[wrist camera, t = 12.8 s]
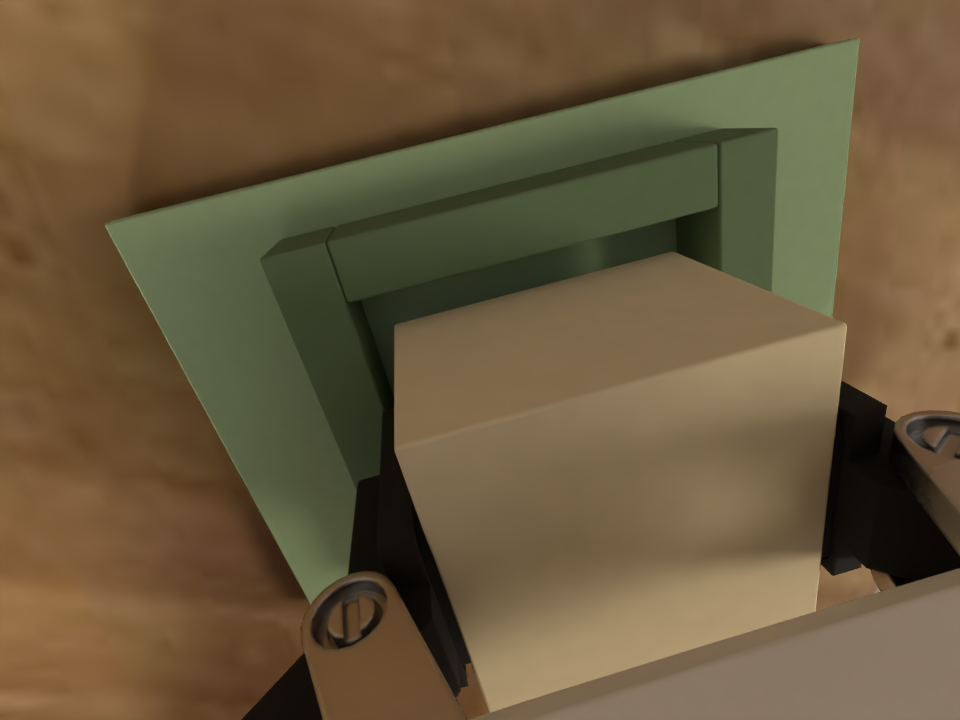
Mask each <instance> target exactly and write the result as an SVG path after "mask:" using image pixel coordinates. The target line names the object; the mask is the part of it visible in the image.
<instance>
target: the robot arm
mask: <svg viewBox="0 0 960 720" xmlns="http://www.w3.org/2000/svg"><path fill="white" fill-rule="evenodd" d="M886 408H887V405H885V404H883V403H881V402H879V401H878V400H876V399H874V398H872V397H870V396H869V395H867V394H865V393H863V392H861V391H859V390H858V389H856V388H854V387H852V386H850V385H849V384H847V383H845V382H843V381H841V386H840V395H839V404H838V413H837V422H836V431H835V438H834V446H833V455H832V464H831V473H830V482H829V491H828V500H827V509H826V518H825V527H824V536H823V545H822V557H821V565H822V566H823V567H824V568H825V569H826V570H827V571H828V572H829V573H830V574H831V575H832V576H834V575H837V574H841V573H844V572H847V571H851V570H854V569H857V568H861V563H862V564H863V565H864V566H865V567H866V568H868V569H870V570H871V573H872V576H873V579H874V580H875V582H876V584H877V586H878V588H879V590H880V591H881V592H878V593H875V594H872V595H868V596H865V597H862V598H858V599H855V600H852V601H849V602H845V603H842V604H839V605H835V606H832V607H829V608H825V609H822V610H819V611H816V612H812V613H809V614H806V615H802V616H799V617H796V618H793V619H789V620H786V621H783V622H779V623H776V624H773V625H770V626H766V627H763V628H760V629H757V630H753V631H750V632H747V633H743V634H740V635H737V636H734V637H730V638H727V639H724V640H721V641H717V642H714V643H711V644H707V645H704V646H701V647H698V648H694V649H691V650H688V651H685V652H681V653H678V654H675V655H672V656H669V657H665V658H662V659H659V660H656V661H653V662H649V663H646V664H643V665H640V666H636V667H633V668H630V669H627V670H624V671H620V672H617V673H614V674H611V675H607V676H604V677H601V678H598V679H595V680H591V681H588V682H585V683H582V684H579V685H575V686H572V687H569V688H566V689H562V690H559V691H556V692H553V693H550V694H546V695H543V696H540V697H537V698H534V699H530V700H527V701H524V702H521V703H518V704H515V705H512V706H509V707H506V708H503V709H500V710H497V711H494V712H491V713H488V714H485V715H482V716H479V717H476V718H473V719H470V720H960V413H957V412H950V411H920V412H913V413H910V414H908V415H905V416H902V417H901V418H900V419H899V420H898V421H897V422H896V423H895V422H894V421H892V420H890V419H888V418H887V417H885V414H886ZM301 642H302V646H303V649H304V654H303V655H302V656H301V657H300V658H299V659H298V660H297V661H296V662H295V663H294V664H293V665H292V666H291V667H290V668H289V670H288V671H287V672H286V673H285V674H284V675H283V676H282V677H281V678H280V679H279V680H278V681H277V682H276V683H275V684H274V686H273V687H272V688H271V689H270V690H269V691H268V692H267V693H266V694H265V695H264V696H263V697H262V698H261V699H260V700H259V702H258V703H257V704H256V705H255V706H254V707H253V708H252V709H251V710H250V711H249V712H248V713H247V714H246V715H245V716H244V718H243V719H242V720H468V719H467V718H466V716H465V714H464V712H463V710H462V709H461V707H460V705H459V703H458V701H457V699H456V697H457V695H458V694H459V692H460V691H461V689H460V688H462V687H466V686H468V681H467V674H466V666H465V665H466V664H469V663H471V660H470V656H469V654H468V651H467V648H466V645H465V642H464V640H463V637H462V634H461V631H460V629H459V626H458V623H457V620H456V617H455V615H454V612H453V609H452V606H451V604H450V601H449V598H448V595H447V592H446V590H445V587H444V584H443V581H442V579H441V576H440V573H439V570H438V567H437V565H436V562H435V559H434V556H433V553H432V551H431V549H430V547H429V545H428V542H427V540H426V537H425V534H424V531H423V528H422V526H421V523H420V520H419V517H418V515H417V512H416V509H415V506H414V504H413V501H412V498H411V495H410V492H409V490H408V487H407V484H406V481H405V479H404V476H403V473H402V470H401V467H400V465H399V462H398V459H397V456H396V454H395V451H394V408H393V409H389V410H386V411H383V413H382V433H381V457H380V475H377V476H373V477H369V478H366V479H362V480H360V481H359V482H358V485H357V493H356V502H355V512H354V521H353V531H352V540H351V550H350V559H349V569H348V575H347V576H345V577H342V578H340V579H338V580H336V581H335V582H333V583H332V584H331V585H329V586H328V587H326V588H325V589H324V590H323V591H322V592H321V593H320V594H319V595H318V596H317V597H316V598H315V599H314V600H313V601H312V603H311V605H310V606H309V608H308V610H307V611H306V613H305V615H304V618H303V622H302V625H301Z"/></svg>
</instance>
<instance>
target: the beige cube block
mask: <svg viewBox="0 0 960 720" xmlns="http://www.w3.org/2000/svg"><path fill="white" fill-rule="evenodd" d="M846 333H847V325H846V324H845V323H844V322H841V321H839V320H837V319H834V318H832V317H829V316H827V315H825V314H822V313H820V312H817V311H815V310H813V309H810V308H808V307H805V306H803V305H800V304H798V303H796V302H793V301H791V300H788V299H786V298H784V297H781V296H779V295H776V294H774V293H772V292H769V291H767V290H764V289H762V288H760V287H757V286H755V285H752V284H750V283H748V282H745V281H743V280H740V279H738V278H736V277H733V276H731V275H728V274H726V273H724V272H721V271H719V270H716V269H714V268H712V267H709V266H707V265H704V264H702V263H700V262H697V261H695V260H692V259H690V258H687V257H685V256H683V255H680V254H678V253H675V252H668V253H664V254H660V255H656V256H653V257H649V258H645V259H641V260H638V261H634V262H630V263H626V264H622V265H619V266H615V267H611V268H607V269H603V270H600V271H596V272H592V273H588V274H584V275H581V276H577V277H573V278H569V279H565V280H562V281H558V282H554V283H550V284H546V285H543V286H539V287H535V288H531V289H527V290H524V291H520V292H516V293H512V294H508V295H505V296H501V297H497V298H493V299H490V300H486V301H482V302H478V303H474V304H471V305H467V306H463V307H459V308H455V309H452V310H448V311H444V312H440V313H436V314H433V315H429V316H425V317H421V318H417V319H414V320H410V321H406V322H402V323H398V324H396V325H395V326H394V451H395V454H396V456H397V459H398V462H399V465H400V467H401V470H402V473H403V476H404V479H405V481H406V484H407V487H408V490H409V492H410V495H411V498H412V501H413V504H414V506H415V509H416V512H417V515H418V517H419V520H420V523H421V526H422V528H423V531H424V534H425V537H426V540H427V542H428V545H429V547H430V549H431V551H432V553H433V556H434V559H435V562H436V565H437V567H438V570H439V573H440V576H441V579H442V581H443V584H444V587H445V590H446V592H447V595H448V598H449V601H450V604H451V606H452V609H453V612H454V615H455V617H456V620H457V623H458V626H459V629H460V631H461V634H462V637H463V640H464V642H465V645H466V648H467V651H468V654H469V656H470V660H471V664H472V667H473V670H474V673H475V675H476V678H477V681H478V684H479V687H480V689H481V692H482V695H483V698H484V700H485V703H486V706H487V709H488V712H489V713H491V712H494V711H497V710H500V709H503V708H506V707H509V706H512V705H515V704H518V703H521V702H524V701H527V700H530V699H534V698H537V697H540V696H543V695H546V694H550V693H553V692H556V691H559V690H562V689H566V688H569V687H572V686H575V685H579V684H582V683H585V682H588V681H591V680H595V679H598V678H601V677H604V676H607V675H611V674H614V673H617V672H620V671H624V670H627V669H630V668H633V667H636V666H640V665H643V664H646V663H649V662H653V661H656V660H659V659H662V658H665V657H669V656H672V655H675V654H678V653H681V652H685V651H688V650H691V649H694V648H698V647H701V646H704V645H707V644H711V643H714V642H717V641H721V640H724V639H727V638H730V637H734V636H737V635H740V634H743V633H747V632H750V631H753V630H757V629H760V628H763V627H766V626H770V625H773V624H776V623H779V622H783V621H786V620H789V619H793V618H796V617H799V616H802V615H806V614H809V613H812V612H815V610H816V601H817V592H818V583H819V574H820V566H821V557H822V545H823V536H824V527H825V518H826V509H827V500H828V491H829V482H830V473H831V464H832V455H833V446H834V438H835V431H836V422H837V413H838V404H839V395H840V386H841V377H842V368H843V359H844V351H845V342H846Z"/></svg>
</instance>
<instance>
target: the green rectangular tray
mask: <svg viewBox="0 0 960 720" xmlns="http://www.w3.org/2000/svg"><path fill="white" fill-rule="evenodd" d="M858 50H859V39H858V38H853V39H848V40H843V41H838V42H834V43H829V44H825V45H821V46H817V47H813V48H809V49H805V50H801V51H797V52H793V53H789V54H785V55H781V56H776V57H772V58H768V59H764V60H760V61H756V62H752V63H748V64H744V65H740V66H736V67H732V68H728V69H724V70H720V71H715V72H711V73H707V74H703V75H699V76H695V77H691V78H687V79H683V80H679V81H675V82H671V83H667V84H663V85H659V86H655V87H650V88H646V89H642V90H638V91H634V92H630V93H626V94H622V95H618V96H614V97H610V98H606V99H602V100H598V101H594V102H590V103H585V104H581V105H577V106H573V107H569V108H565V109H561V110H557V111H553V112H549V113H545V114H541V115H537V116H533V117H529V118H525V119H520V120H516V121H512V122H508V123H504V124H500V125H496V126H492V127H488V128H484V129H480V130H476V131H472V132H468V133H464V134H460V135H455V136H451V137H447V138H443V139H439V140H435V141H431V142H427V143H423V144H419V145H415V146H411V147H407V148H403V149H399V150H394V151H390V152H386V153H382V154H378V155H374V156H370V157H366V158H362V159H358V160H354V161H350V162H346V163H342V164H338V165H334V166H329V167H325V168H321V169H317V170H313V171H309V172H305V173H301V174H297V175H293V176H289V177H285V178H281V179H277V180H273V181H269V182H264V183H260V184H256V185H252V186H248V187H244V188H240V189H236V190H232V191H228V192H224V193H220V194H216V195H212V196H208V197H204V198H199V199H195V200H191V201H187V202H183V203H179V204H175V205H171V206H167V207H163V208H159V209H155V210H151V211H147V212H143V213H139V214H134V215H130V216H126V217H123V218H119V219H116V220H113V221H109V222H107V223H106V224H105V227H106V229H107V231H108V233H109V235H110V236H111V238H112V240H113V242H114V244H115V246H116V247H117V249H118V251H119V253H120V255H121V257H122V259H123V260H124V262H125V264H126V266H127V268H128V270H129V271H130V273H131V275H132V277H133V279H134V281H135V282H136V284H137V286H138V288H139V290H140V292H141V294H142V295H143V297H144V299H145V301H146V303H147V305H148V306H149V308H150V310H151V312H152V314H153V316H154V317H155V319H156V321H157V323H158V325H159V327H160V329H161V330H162V332H163V334H164V336H165V338H166V340H167V341H168V343H169V345H170V347H171V349H172V351H173V353H174V354H175V356H176V358H177V360H178V362H179V364H180V365H181V367H182V369H183V371H184V373H185V375H186V376H187V378H188V380H189V382H190V384H191V386H192V388H193V389H194V391H195V393H196V395H197V397H198V399H199V400H200V402H201V404H202V406H203V408H204V410H205V411H206V413H207V415H208V417H209V419H210V421H211V423H212V424H213V426H214V428H215V430H216V432H217V434H218V435H219V437H220V439H221V441H222V443H223V445H224V447H225V448H226V450H227V452H228V454H229V456H230V458H231V459H232V461H233V463H234V465H235V467H236V469H237V470H238V472H239V474H240V476H241V478H242V480H243V482H244V483H245V485H246V487H247V489H248V491H249V493H250V494H251V496H252V498H253V500H254V502H255V504H256V505H257V507H258V509H259V511H260V513H261V515H262V517H263V518H264V520H265V522H266V524H267V526H268V528H269V529H270V531H271V533H272V535H273V537H274V539H275V541H276V542H277V544H278V546H279V548H280V550H281V552H282V553H283V555H284V557H285V559H286V561H287V563H288V564H289V566H290V568H291V570H292V572H293V574H294V576H295V577H296V579H297V581H298V583H299V585H300V587H301V588H302V590H303V592H304V594H305V596H306V598H307V599H308V601H309V603H310V605H311V603H312V601H313V600H314V599H315V598H316V597H317V596H318V595H319V594H320V593H321V592H322V591H323V590H324V589H325V588H326V587H328V586H329V585H331V584H332V583H333V582H335V581H336V580H338V579H340V578H342V577H345V576H347V575H348V569H349V559H350V550H351V540H352V531H353V521H354V512H355V502H356V493H357V485H358V482H359V481H360V480H362V479H366V478H369V477H373V476H377V475H380V457H381V433H382V413H383V411H386V410H389V409H393V408H394V326H395V325H396V324H398V323H402V322H406V321H410V320H414V319H417V318H421V317H425V316H429V315H433V314H436V313H440V312H444V311H448V310H452V309H455V308H459V307H463V306H467V305H471V304H474V303H478V302H482V301H486V300H490V299H493V298H497V297H501V296H505V295H508V294H512V293H516V292H520V291H524V290H527V289H531V288H535V287H539V286H543V285H546V284H550V283H554V282H558V281H562V280H565V279H569V278H573V277H577V276H581V275H584V274H588V273H592V272H596V271H600V270H603V269H607V268H611V267H615V266H619V265H622V264H626V263H630V262H634V261H638V260H641V259H645V258H649V257H653V256H656V255H660V254H664V253H668V252H675V253H678V254H680V255H683V256H685V257H687V258H690V259H692V260H695V261H697V262H700V263H702V264H704V265H707V266H709V267H712V268H714V269H716V270H719V271H721V272H724V273H726V274H728V275H731V276H733V277H736V278H738V279H740V280H743V281H745V282H748V283H750V284H752V285H755V286H757V287H760V288H762V289H764V290H767V291H769V292H772V293H774V294H776V295H779V296H781V297H784V298H786V299H788V300H791V301H793V302H796V303H798V304H800V305H803V306H805V307H808V308H810V309H813V310H815V311H817V312H820V313H822V314H825V315H827V316H829V317H832V315H833V304H834V294H835V284H836V274H837V264H838V253H839V243H840V233H841V223H842V213H843V203H844V192H845V182H846V172H847V162H848V152H849V142H850V131H851V121H852V111H853V101H854V91H855V81H856V70H857V60H858Z"/></svg>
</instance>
